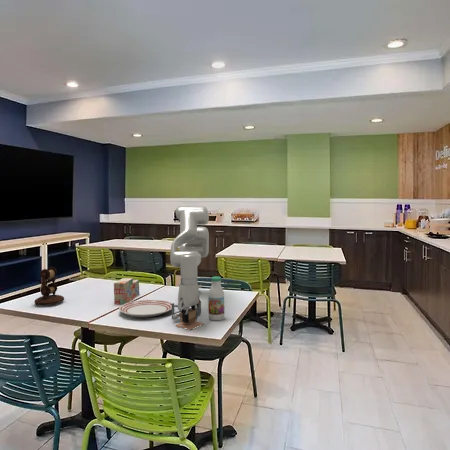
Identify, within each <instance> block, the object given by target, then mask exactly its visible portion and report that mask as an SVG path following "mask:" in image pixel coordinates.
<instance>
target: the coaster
mask: <svg viewBox="0 0 450 450" xmlns="http://www.w3.org/2000/svg"><path fill="white" fill-rule="evenodd" d="M202 324H203V325H204V324H205V323H204V322H201V321H197V320H196V321H195V322H193V323H191V324H186V323H182V322H179V323H177V324H175V327H176V326H177V328H180V327H182V328H181V329H184V328H187V329H186V330H188V329H193V328H195V327H197V326H199V327H201V326H203V325H202ZM200 325H201V326H200ZM197 328H198V327H197ZM195 329H196V328H195ZM193 330H194V329H193Z"/></svg>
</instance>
